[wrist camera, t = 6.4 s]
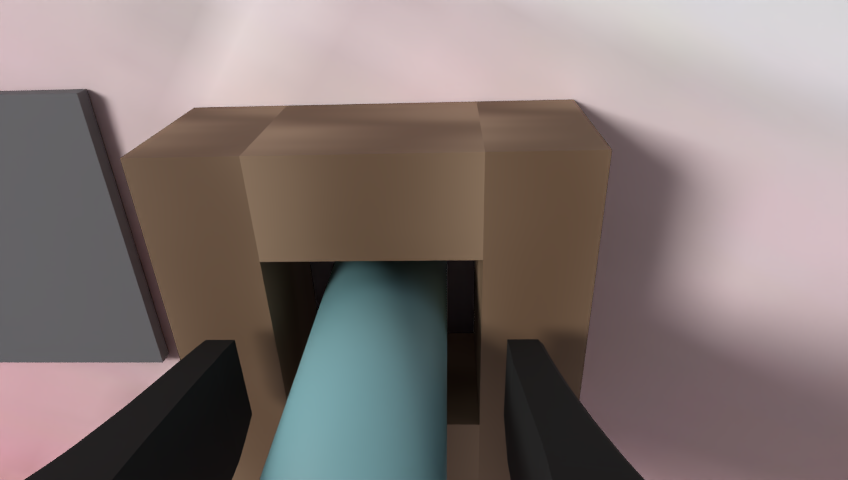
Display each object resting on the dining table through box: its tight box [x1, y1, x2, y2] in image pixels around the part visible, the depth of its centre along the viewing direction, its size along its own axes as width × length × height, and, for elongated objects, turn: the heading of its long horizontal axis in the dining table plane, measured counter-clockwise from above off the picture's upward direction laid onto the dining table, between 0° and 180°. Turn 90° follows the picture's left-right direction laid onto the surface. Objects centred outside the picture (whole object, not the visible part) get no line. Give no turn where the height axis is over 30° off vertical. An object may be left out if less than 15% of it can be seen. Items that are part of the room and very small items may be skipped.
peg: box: [260, 260, 447, 480], centre depth 12 cm, size 3×3×9 cm
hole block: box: [120, 100, 612, 480], centre depth 14 cm, size 9×9×4 cm
